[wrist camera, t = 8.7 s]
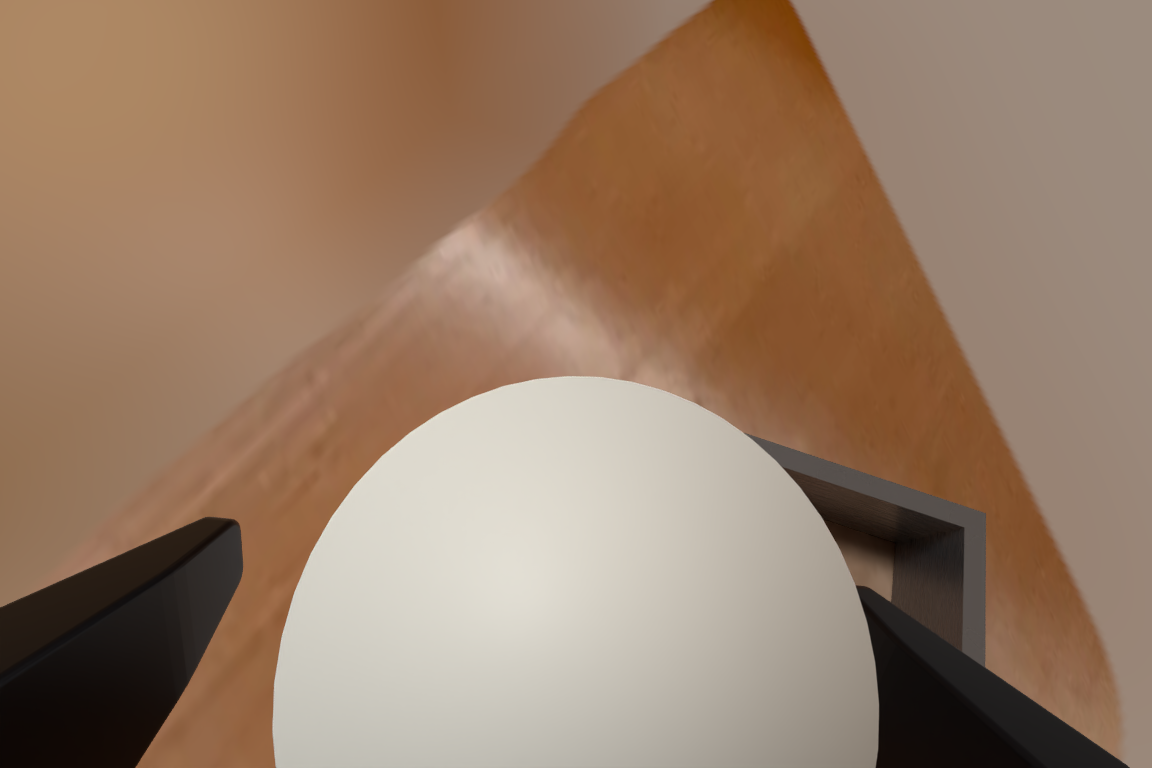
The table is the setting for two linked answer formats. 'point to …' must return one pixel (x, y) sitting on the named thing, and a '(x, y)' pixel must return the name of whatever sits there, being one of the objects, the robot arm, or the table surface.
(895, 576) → the frame
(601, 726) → the cream peg
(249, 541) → the table surface
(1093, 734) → the table surface
